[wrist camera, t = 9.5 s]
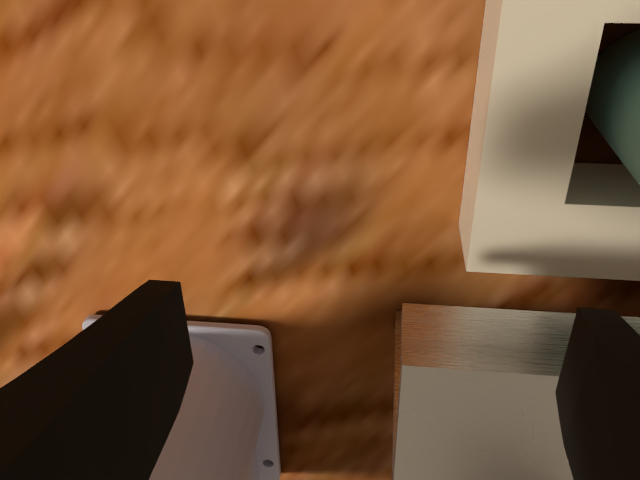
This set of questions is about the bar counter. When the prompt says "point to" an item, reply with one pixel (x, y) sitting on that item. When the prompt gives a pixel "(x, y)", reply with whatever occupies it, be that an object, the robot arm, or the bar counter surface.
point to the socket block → (544, 149)
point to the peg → (618, 99)
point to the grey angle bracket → (479, 393)
